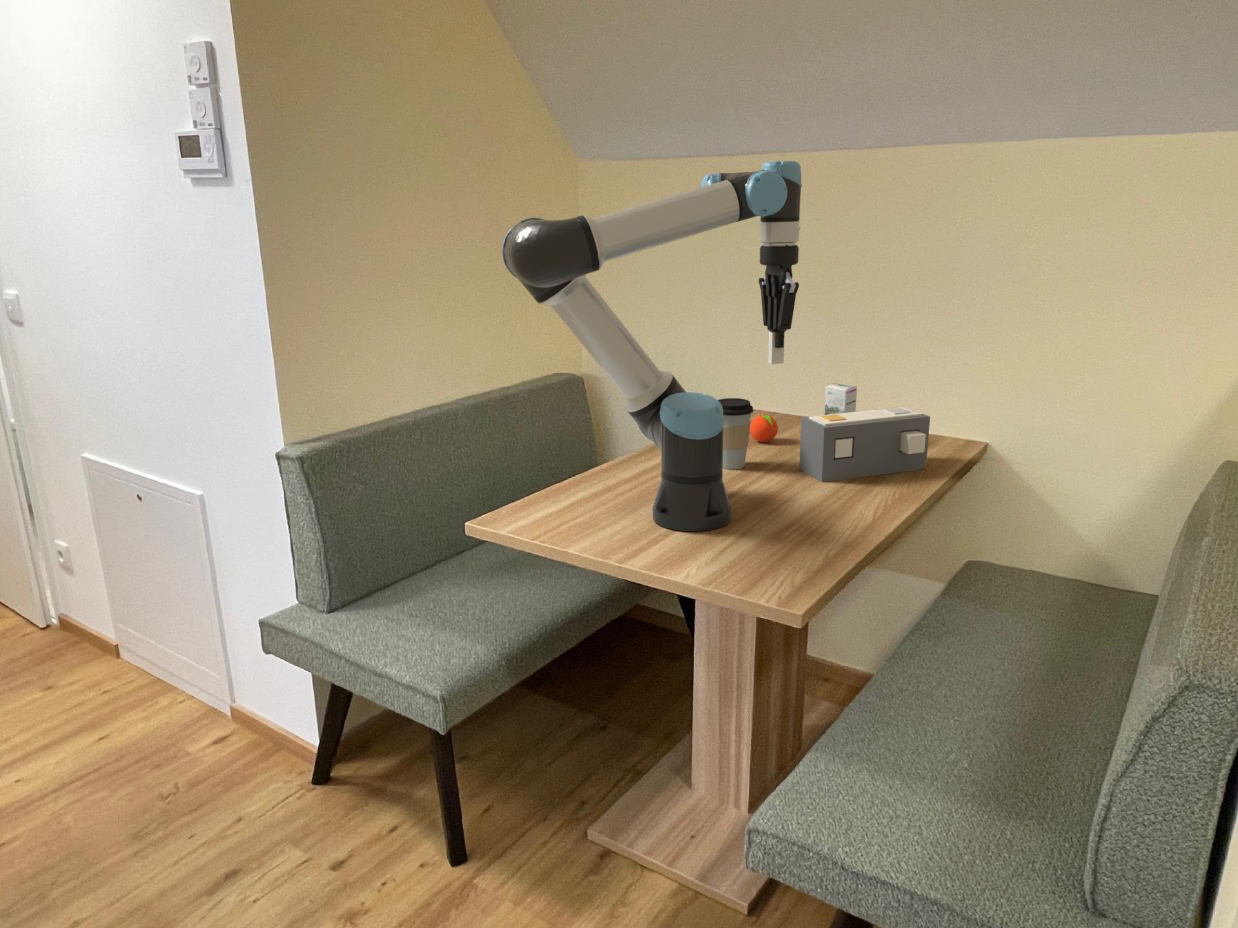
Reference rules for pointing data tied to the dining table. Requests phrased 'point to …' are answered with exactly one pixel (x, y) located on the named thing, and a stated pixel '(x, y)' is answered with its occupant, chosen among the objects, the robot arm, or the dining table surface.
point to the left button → (843, 447)
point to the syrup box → (840, 398)
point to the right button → (912, 441)
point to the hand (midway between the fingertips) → (775, 363)
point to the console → (861, 443)
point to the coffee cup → (735, 431)
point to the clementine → (763, 428)
